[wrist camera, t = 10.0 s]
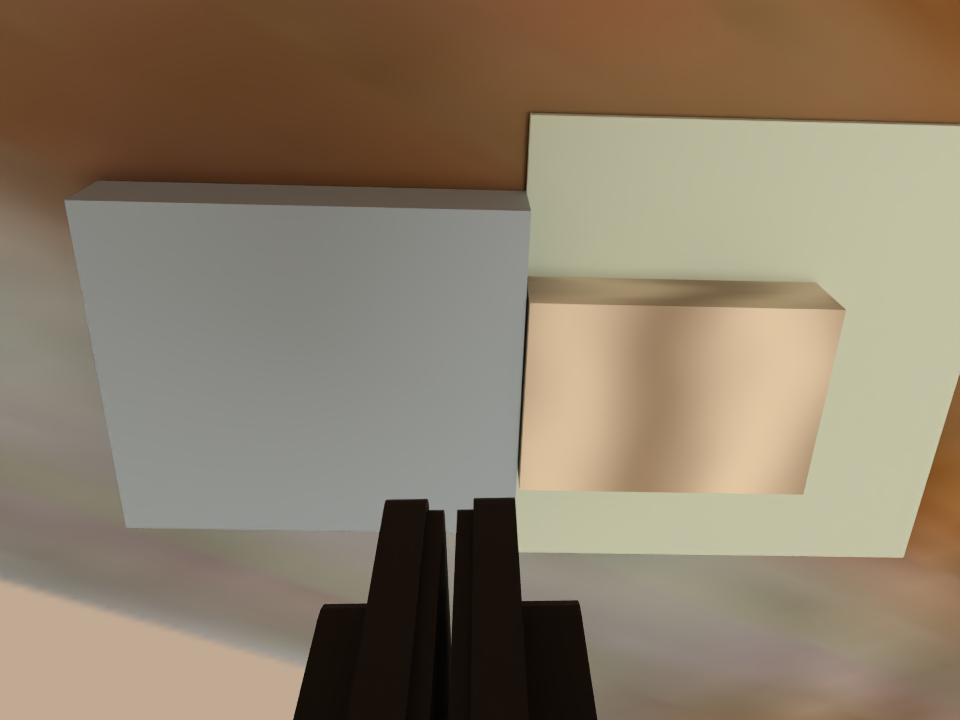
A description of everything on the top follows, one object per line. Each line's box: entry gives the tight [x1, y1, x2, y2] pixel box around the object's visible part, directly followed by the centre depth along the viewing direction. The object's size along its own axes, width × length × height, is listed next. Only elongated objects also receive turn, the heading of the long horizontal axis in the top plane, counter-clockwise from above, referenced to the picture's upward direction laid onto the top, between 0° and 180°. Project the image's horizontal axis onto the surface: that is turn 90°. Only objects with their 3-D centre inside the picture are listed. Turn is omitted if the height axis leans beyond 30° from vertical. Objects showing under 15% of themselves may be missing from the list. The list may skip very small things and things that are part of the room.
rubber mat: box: [515, 113, 960, 558], centre depth 30 cm, size 16×17×1 cm
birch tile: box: [517, 276, 846, 495], centre depth 29 cm, size 10×7×2 cm
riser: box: [64, 181, 531, 533], centre depth 29 cm, size 14×12×2 cm
